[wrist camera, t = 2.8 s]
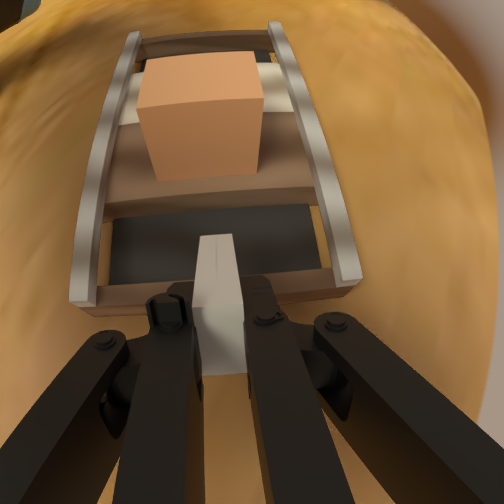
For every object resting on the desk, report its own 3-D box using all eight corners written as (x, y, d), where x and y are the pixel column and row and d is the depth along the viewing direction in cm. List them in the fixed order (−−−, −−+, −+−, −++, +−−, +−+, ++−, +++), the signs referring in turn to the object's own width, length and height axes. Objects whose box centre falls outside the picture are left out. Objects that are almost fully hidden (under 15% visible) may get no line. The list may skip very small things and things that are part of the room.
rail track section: (134, 57, 37) (129, 32, 33) (276, 47, 39) (279, 21, 35) (93, 316, 23) (68, 301, 19) (343, 296, 25) (363, 278, 21)
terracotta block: (161, 129, 28) (146, 59, 20) (249, 123, 28) (253, 51, 21) (157, 181, 25) (136, 108, 18) (256, 173, 26) (264, 98, 19)
